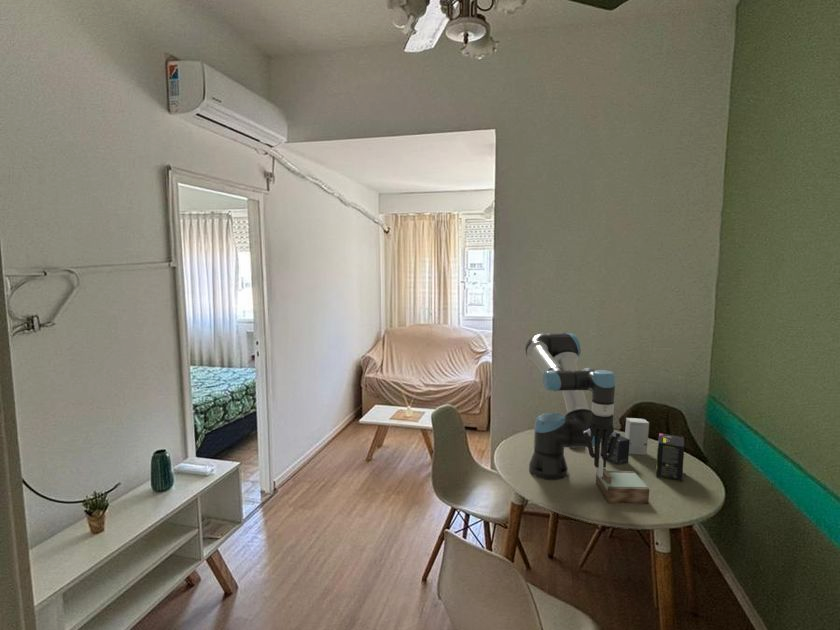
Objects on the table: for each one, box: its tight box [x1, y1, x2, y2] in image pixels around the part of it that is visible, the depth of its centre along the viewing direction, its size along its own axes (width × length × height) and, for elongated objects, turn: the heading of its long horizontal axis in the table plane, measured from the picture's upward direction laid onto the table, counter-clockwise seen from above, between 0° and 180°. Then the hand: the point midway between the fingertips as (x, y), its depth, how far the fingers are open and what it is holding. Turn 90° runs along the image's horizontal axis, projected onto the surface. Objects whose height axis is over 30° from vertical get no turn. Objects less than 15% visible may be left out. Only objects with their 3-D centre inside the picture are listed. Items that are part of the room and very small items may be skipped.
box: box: [595, 469, 650, 505], centre depth 176 cm, size 14×14×6 cm
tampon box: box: [655, 432, 685, 482], centre depth 191 cm, size 11×9×15 cm
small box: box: [599, 434, 630, 466], centre depth 205 cm, size 11×6×10 cm, turn 22°
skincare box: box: [624, 417, 650, 456], centre depth 212 cm, size 8×6×15 cm
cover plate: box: [597, 467, 649, 490], centre depth 175 cm, size 14×11×4 cm
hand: (599, 475), depth 175 cm, fingers closed
